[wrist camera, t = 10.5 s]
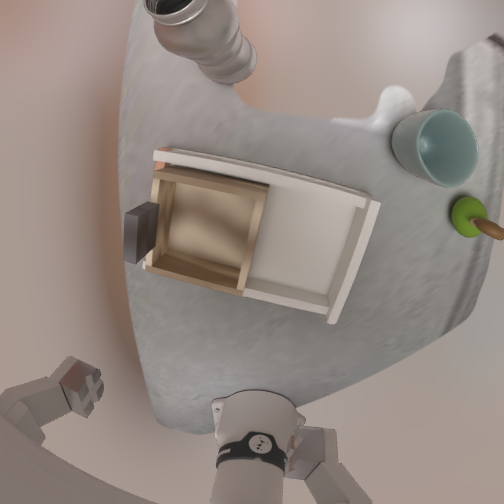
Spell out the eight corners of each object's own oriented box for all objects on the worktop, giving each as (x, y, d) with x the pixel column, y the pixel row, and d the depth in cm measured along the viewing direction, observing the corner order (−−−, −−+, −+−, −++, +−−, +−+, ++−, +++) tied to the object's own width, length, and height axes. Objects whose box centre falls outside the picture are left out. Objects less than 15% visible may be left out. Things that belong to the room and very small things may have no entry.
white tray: (330, 301, 40) (335, 324, 35) (154, 258, 41) (137, 274, 36) (368, 193, 34) (381, 202, 29) (167, 146, 35) (148, 149, 30)
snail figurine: (472, 234, 34) (519, 268, 23) (440, 226, 34) (487, 260, 23) (481, 199, 32) (533, 224, 21) (449, 188, 32) (502, 211, 21)
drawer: (248, 273, 39) (234, 321, 29) (161, 251, 39) (123, 289, 29) (269, 184, 34) (261, 204, 24) (172, 164, 34) (128, 177, 24)
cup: (410, 186, 33) (446, 203, 24) (372, 139, 32) (401, 141, 22) (446, 149, 30) (489, 156, 21) (411, 102, 29) (449, 93, 20)
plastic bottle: (250, 93, 31) (204, 42, 13) (198, 80, 31) (109, 35, 13) (266, 47, 29) (240, -39, 10) (213, 36, 29) (144, -40, 10)
